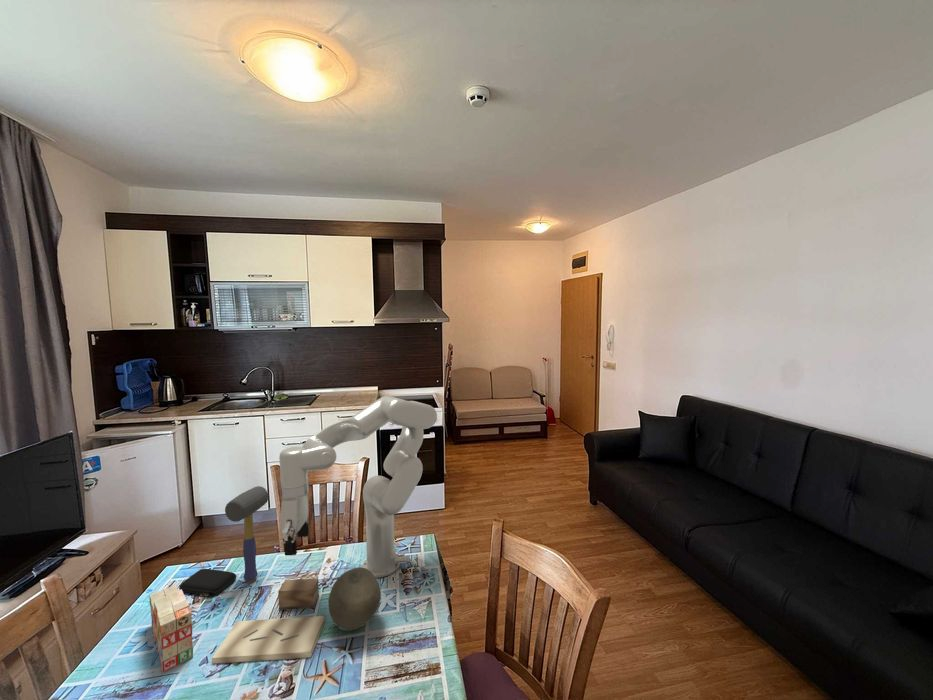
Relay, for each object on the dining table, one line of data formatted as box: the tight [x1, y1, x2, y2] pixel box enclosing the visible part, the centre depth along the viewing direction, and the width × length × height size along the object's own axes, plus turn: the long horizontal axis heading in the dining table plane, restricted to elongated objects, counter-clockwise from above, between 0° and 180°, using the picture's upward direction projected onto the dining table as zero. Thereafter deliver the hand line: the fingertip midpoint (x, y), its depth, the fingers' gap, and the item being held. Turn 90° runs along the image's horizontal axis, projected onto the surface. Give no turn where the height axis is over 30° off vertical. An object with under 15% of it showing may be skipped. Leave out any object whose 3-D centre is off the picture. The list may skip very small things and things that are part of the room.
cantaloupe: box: [327, 566, 382, 631], centre depth 107 cm, size 14×14×15 cm
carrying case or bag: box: [178, 568, 237, 597], centre depth 124 cm, size 11×3×15 cm
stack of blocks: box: [148, 584, 194, 674], centre depth 102 cm, size 21×6×12 cm, turn 46°
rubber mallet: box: [224, 485, 270, 583], centre depth 126 cm, size 12×8×30 cm, turn 170°
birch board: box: [211, 615, 326, 665], centre depth 102 cm, size 24×12×2 cm, turn 94°
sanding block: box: [277, 577, 320, 611], centre depth 116 cm, size 10×5×6 cm, turn 94°
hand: (297, 545), depth 115 cm, fingers open, 9 cm apart
